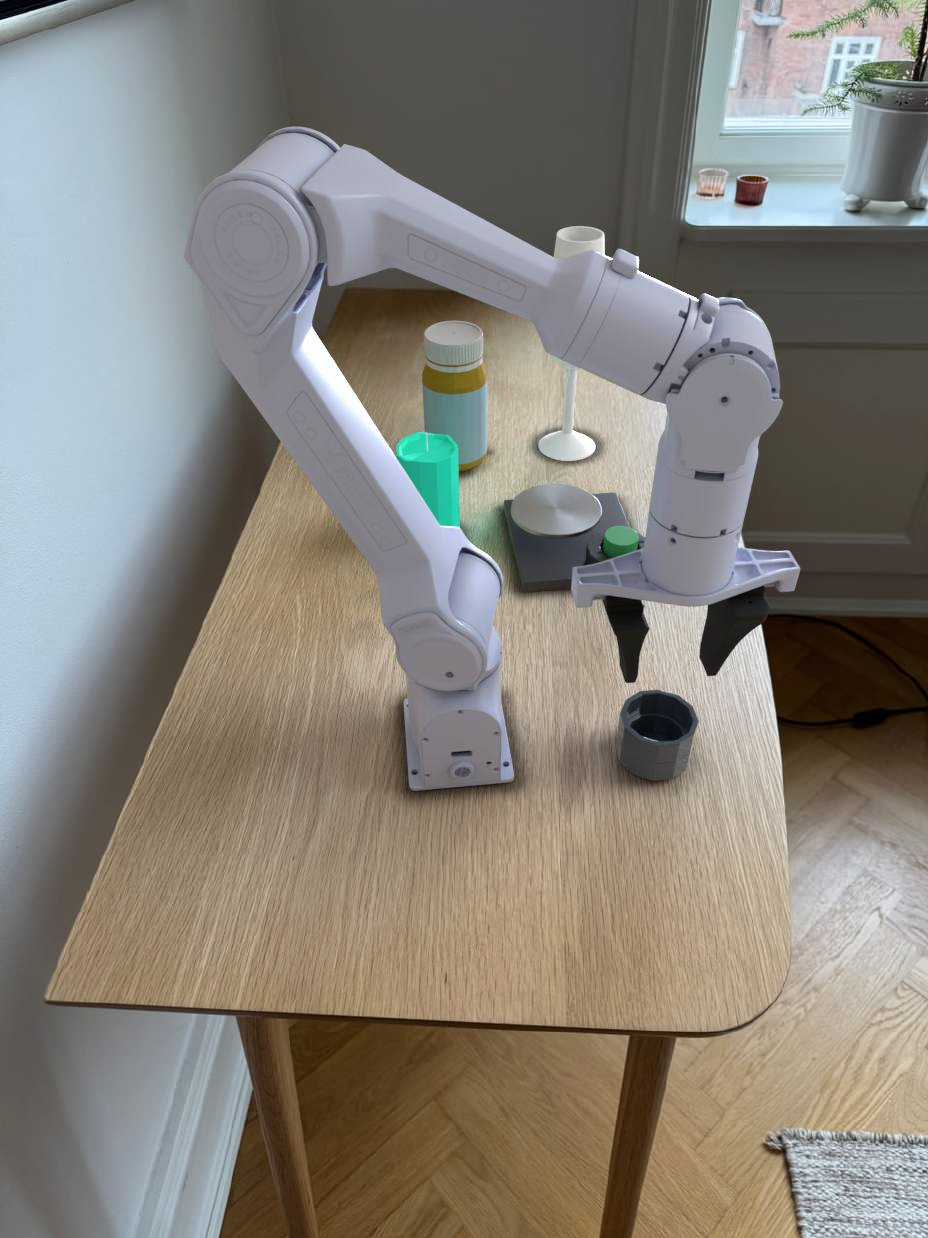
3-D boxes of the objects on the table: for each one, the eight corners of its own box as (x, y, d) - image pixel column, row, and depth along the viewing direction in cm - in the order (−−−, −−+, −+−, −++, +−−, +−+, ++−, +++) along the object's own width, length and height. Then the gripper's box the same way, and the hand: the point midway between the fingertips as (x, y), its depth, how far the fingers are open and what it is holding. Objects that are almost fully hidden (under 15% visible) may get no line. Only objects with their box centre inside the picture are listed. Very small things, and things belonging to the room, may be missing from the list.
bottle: (415, 465, 104) (407, 339, 94) (444, 437, 109) (440, 314, 99) (469, 479, 101) (467, 351, 92) (497, 450, 106) (498, 325, 96)
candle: (454, 557, 90) (450, 451, 83) (395, 551, 91) (386, 445, 84) (466, 523, 95) (464, 419, 87) (410, 517, 96) (403, 414, 88)
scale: (656, 589, 87) (660, 564, 85) (524, 599, 86) (525, 574, 84) (620, 501, 98) (622, 477, 96) (503, 509, 97) (504, 485, 95)
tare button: (640, 559, 86) (642, 544, 85) (606, 561, 86) (608, 546, 84) (632, 539, 88) (634, 524, 87) (599, 541, 88) (601, 526, 87)
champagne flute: (606, 453, 105) (627, 239, 89) (553, 465, 103) (565, 249, 88) (579, 426, 110) (594, 219, 94) (528, 438, 108) (535, 228, 92)
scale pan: (610, 535, 88) (610, 531, 88) (517, 542, 88) (518, 537, 87) (591, 484, 95) (591, 480, 95) (505, 490, 94) (505, 486, 94)
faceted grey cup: (697, 781, 69) (706, 741, 66) (625, 787, 69) (631, 748, 66) (677, 726, 74) (685, 687, 71) (608, 732, 73) (614, 693, 70)
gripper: (787, 468, 60) (748, 624, 68) (567, 483, 59) (557, 639, 68) (830, 531, 54) (782, 691, 63) (590, 549, 53) (575, 709, 62)
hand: (667, 669), depth 65 cm, fingers open, 5 cm apart
